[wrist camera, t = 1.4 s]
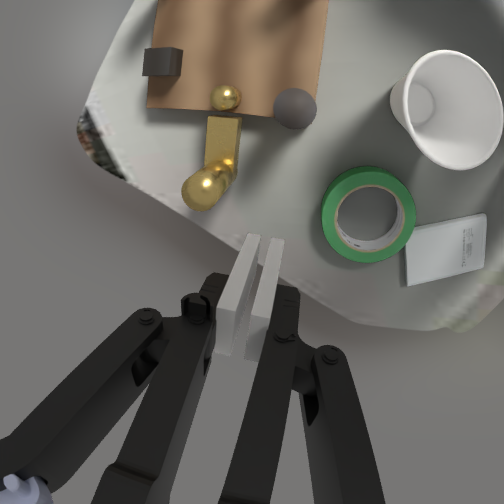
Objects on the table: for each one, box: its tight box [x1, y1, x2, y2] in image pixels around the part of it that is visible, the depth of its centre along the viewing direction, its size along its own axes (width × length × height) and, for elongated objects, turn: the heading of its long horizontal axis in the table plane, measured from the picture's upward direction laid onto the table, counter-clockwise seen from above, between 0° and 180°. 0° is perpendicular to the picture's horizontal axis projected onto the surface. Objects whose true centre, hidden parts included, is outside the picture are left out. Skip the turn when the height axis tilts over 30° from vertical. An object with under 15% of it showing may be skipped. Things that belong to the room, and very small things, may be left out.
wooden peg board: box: [142, 0, 329, 129], centre depth 22 cm, size 18×18×10 cm
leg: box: [181, 85, 242, 211], centre depth 26 cm, size 11×3×8 cm, turn 173°
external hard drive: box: [404, 213, 487, 286], centre depth 33 cm, size 2×8×12 cm
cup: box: [390, 50, 503, 170], centre depth 22 cm, size 10×10×11 cm
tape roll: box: [321, 166, 416, 263], centre depth 33 cm, size 11×11×3 cm
